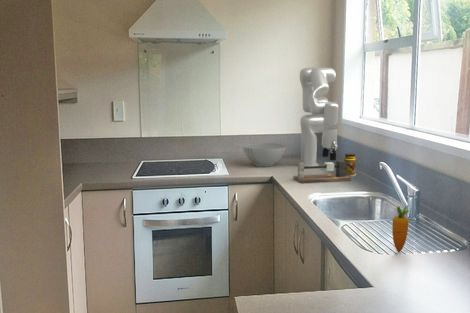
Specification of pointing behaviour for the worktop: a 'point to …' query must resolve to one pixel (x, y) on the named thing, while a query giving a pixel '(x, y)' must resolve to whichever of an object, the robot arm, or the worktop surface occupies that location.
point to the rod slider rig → (336, 177)
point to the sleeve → (329, 166)
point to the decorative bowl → (264, 153)
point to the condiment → (350, 164)
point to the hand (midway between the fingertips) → (329, 158)
